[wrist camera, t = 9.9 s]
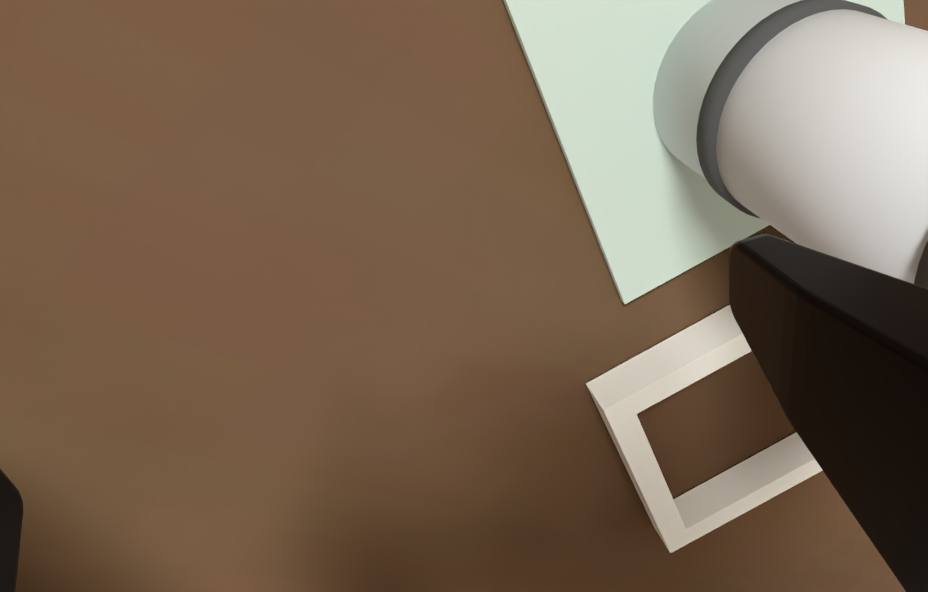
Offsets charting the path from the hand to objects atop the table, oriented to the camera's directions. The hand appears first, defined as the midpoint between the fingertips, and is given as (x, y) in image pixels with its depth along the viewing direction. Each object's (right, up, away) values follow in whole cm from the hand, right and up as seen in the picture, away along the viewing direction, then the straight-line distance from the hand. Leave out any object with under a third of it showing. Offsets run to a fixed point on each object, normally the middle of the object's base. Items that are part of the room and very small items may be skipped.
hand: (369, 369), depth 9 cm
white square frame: (+12, -3, +21) cm, 24 cm away
